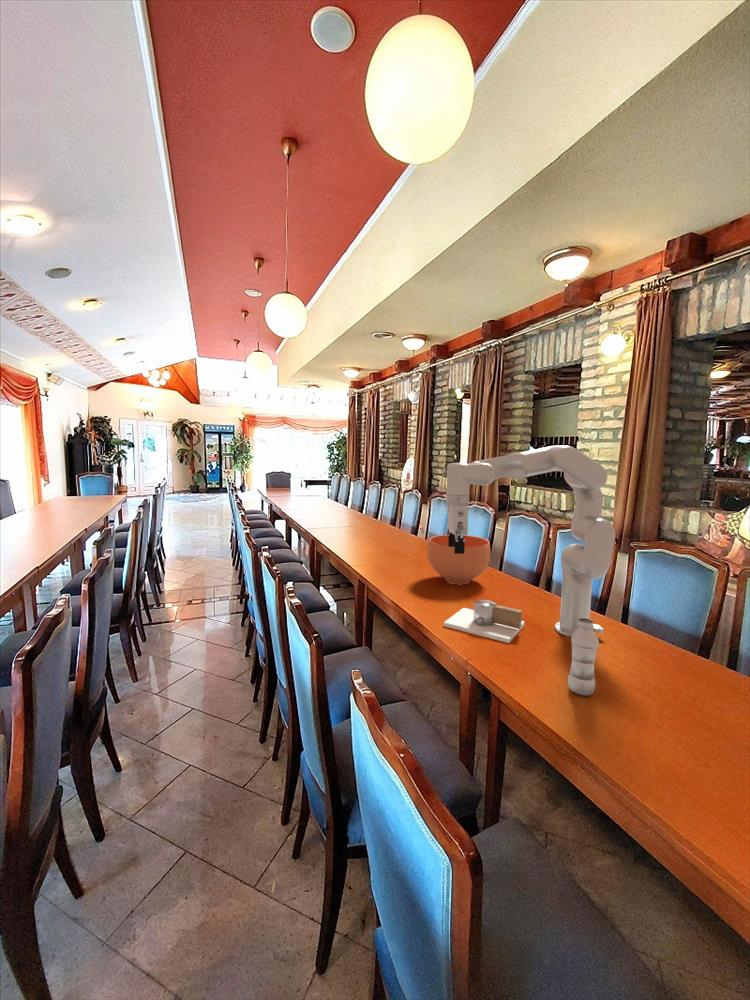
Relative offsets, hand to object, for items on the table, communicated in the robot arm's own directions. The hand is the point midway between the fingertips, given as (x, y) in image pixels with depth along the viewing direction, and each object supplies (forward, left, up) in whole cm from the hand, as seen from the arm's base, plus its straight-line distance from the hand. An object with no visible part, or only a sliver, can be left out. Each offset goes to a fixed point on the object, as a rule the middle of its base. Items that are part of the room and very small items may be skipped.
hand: (456, 549), depth 146 cm
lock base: (-6, -15, -31) cm, 34 cm away
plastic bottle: (-43, +12, -31) cm, 54 cm away
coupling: (-10, -15, -29) cm, 34 cm away
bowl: (+24, -59, -31) cm, 71 cm away
